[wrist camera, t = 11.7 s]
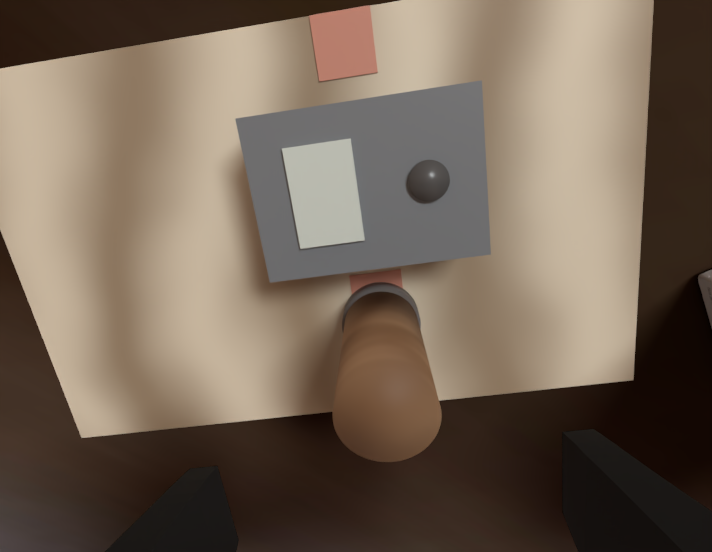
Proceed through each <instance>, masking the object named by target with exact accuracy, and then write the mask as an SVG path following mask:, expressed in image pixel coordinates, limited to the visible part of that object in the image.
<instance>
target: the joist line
mask: <svg viewBox="0 0 712 552" xmlns="http://www.w3.org/2000/svg"><path fill="white" fill-rule="evenodd" d="M309 18H310V25H311V31H312V38H313V44H314V51H315V57H316V64H317V70H318V77H319V82H321V81H327V80H334V79H340V78H346V77H352V76H359V75H365V74H371V73H378V71H377V62H376V53H375V45H374V36H373V28H372V19H371V11H370V5H368V6H363V7H357V8H351V9H345V10H339V11H333V12H327V13H321V14H316V15H310V16H309ZM349 278H350V285H351V291H352V294H353V293H354V292H355V291H356V290H358V289H359V288H361V287H363V286H365V285H367V284H370V283H375V282H387V283H392V284H395V285H397V286H399V287H401V288H403V285H402V277H401V269H398V270H390V271H382V272H374V273H366V274H358V275H350V276H349Z"/></svg>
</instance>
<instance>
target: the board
mask: <svg viewBox="0 0 712 552" xmlns="http://www.w3.org/2000/svg"><path fill="white" fill-rule="evenodd" d="M653 4H654V0H401V1H395V2H390V3H384V4H378V5H372V6H370V11H371V19H372V28H373V36H374V45H375V53H376V62H377V71H378V73H371V74H365V75H359V76H352V77H346V78H340V79H334V80H327V81H321V82H319V77H318V70H317V64H316V57H315V51H314V44H313V38H312V31H311V25H310V18H309V16H307V17H301V18H295V19H290V20H284V21H278V22H272V23H266V24H260V25H254V26H248V27H243V28H237V29H231V30H225V31H219V32H213V33H207V34H201V35H195V36H190V37H184V38H178V39H172V40H166V41H160V42H154V43H148V44H143V45H137V46H131V47H125V48H119V49H113V50H107V51H101V52H96V53H90V54H84V55H78V56H72V57H66V58H60V59H54V60H48V61H43V62H37V63H31V64H25V65H19V66H13V67H7V68H1V69H0V230H1V233H2V235H3V238H4V240H5V243H6V245H7V248H8V251H9V253H10V256H11V258H12V261H13V263H14V266H15V268H16V271H17V274H18V276H19V279H20V281H21V284H22V286H23V289H24V292H25V294H26V297H27V299H28V302H29V304H30V307H31V309H32V312H33V315H34V317H35V320H36V322H37V325H38V327H39V330H40V333H41V335H42V338H43V340H44V343H45V345H46V348H47V350H48V353H49V356H50V358H51V361H52V363H53V366H54V368H55V371H56V374H57V376H58V379H59V381H60V384H61V386H62V389H63V391H64V394H65V397H66V399H67V402H68V404H69V407H70V409H71V412H72V415H73V417H74V420H75V422H76V425H77V427H78V430H79V432H80V435H81V438H87V437H96V436H106V435H115V434H125V433H134V432H144V431H153V430H163V429H172V428H182V427H192V426H201V425H211V424H220V423H230V422H239V421H249V420H258V419H268V418H277V417H287V416H297V415H306V414H316V413H325V412H333V406H334V398H335V391H336V383H337V376H338V369H339V361H340V354H341V346H342V339H343V331H342V319H343V313H344V308H345V305H346V303H347V301H348V299H349V298H350V296H351V295H352V291H351V285H350V278H349V276H350V275H358V274H366V273H374V272H382V271H390V270H398V269H401V277H402V285H403V289H404V290H406V291H407V292H408V293H409V294H410V295H411V296H412V298H413V299H414V301H415V303H416V305H417V308H418V312H419V316H420V320H421V329H420V330H421V334H422V338H423V342H424V345H425V349H426V353H427V357H428V361H429V365H430V368H431V372H432V376H433V380H434V384H435V388H436V391H437V395H438V399H439V401H440V400H449V399H459V398H468V397H478V396H487V395H497V394H506V393H516V392H525V391H535V390H545V389H554V388H564V387H573V386H583V385H592V384H602V383H611V382H621V381H630V380H633V379H634V360H635V342H636V323H637V304H638V285H639V266H640V248H641V229H642V210H643V191H644V173H645V154H646V135H647V116H648V98H649V79H650V60H651V41H652V23H653ZM481 80H482V90H483V110H484V129H485V148H486V167H487V187H488V206H489V225H490V245H491V255H483V256H476V257H468V258H460V259H452V260H444V261H436V262H428V263H421V264H413V265H405V266H397V267H389V268H381V269H373V270H366V271H358V272H350V273H342V274H334V275H326V276H318V277H311V278H303V279H295V280H287V281H279V282H271V283H270V281H269V276H268V271H267V267H266V262H265V257H264V253H263V248H262V243H261V238H260V234H259V229H258V224H257V219H256V215H255V210H254V205H253V201H252V196H251V191H250V186H249V182H248V177H247V172H246V167H245V163H244V158H243V153H242V149H241V144H240V139H239V134H238V130H237V125H236V120H235V119H236V118H242V117H249V116H255V115H262V114H268V113H274V112H281V111H287V110H294V109H300V108H307V107H313V106H319V105H326V104H332V103H339V102H345V101H352V100H358V99H365V98H371V97H377V96H384V95H390V94H397V93H403V92H410V91H416V90H423V89H429V88H435V87H442V86H448V85H455V84H461V83H468V82H474V81H481Z"/></svg>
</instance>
